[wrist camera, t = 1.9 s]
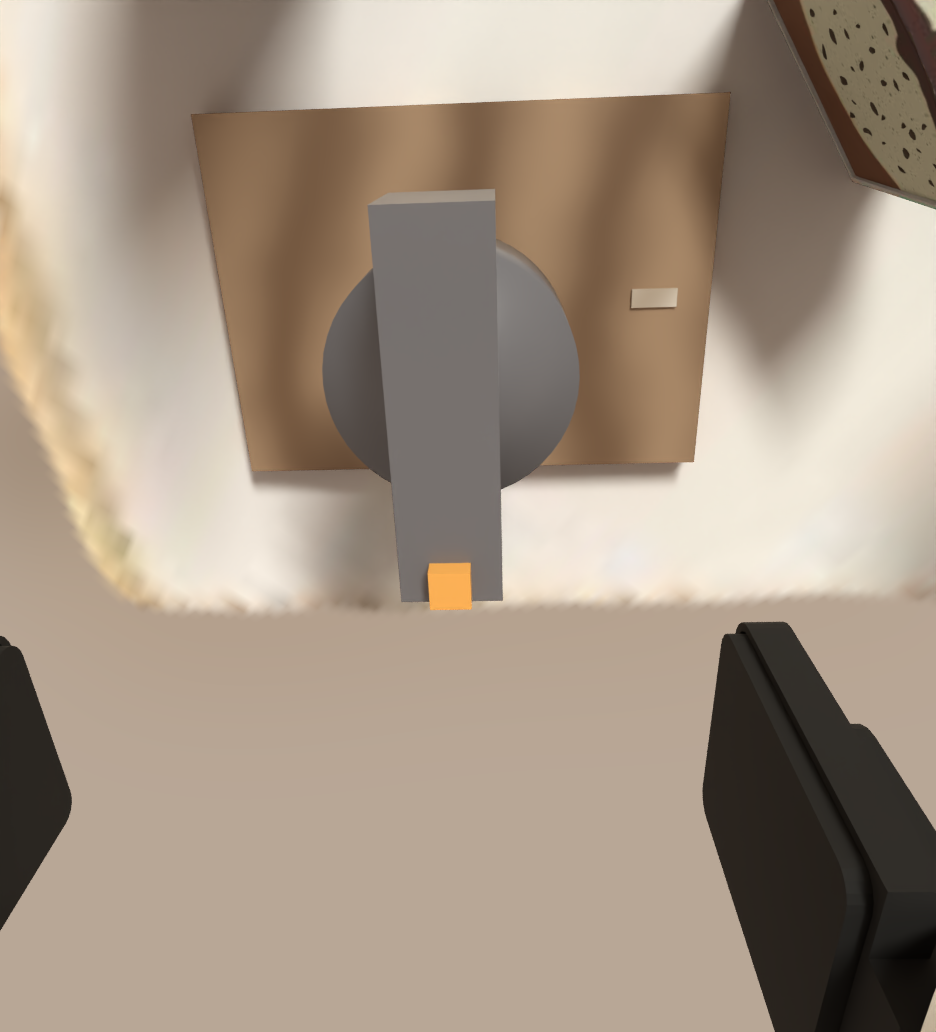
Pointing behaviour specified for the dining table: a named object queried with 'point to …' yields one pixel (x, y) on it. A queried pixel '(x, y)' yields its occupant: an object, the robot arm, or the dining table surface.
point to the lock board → (519, 223)
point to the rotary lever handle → (449, 383)
